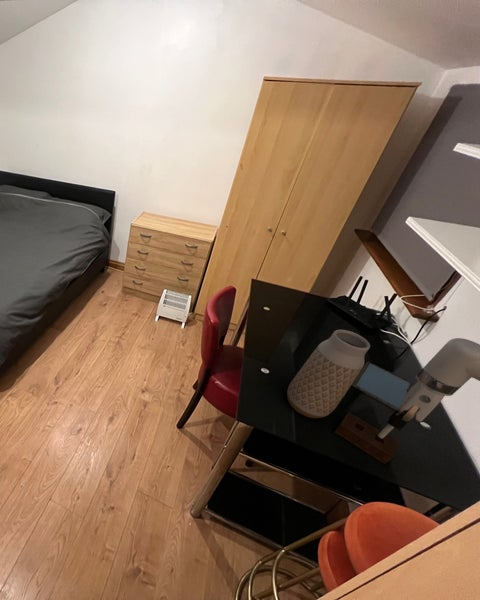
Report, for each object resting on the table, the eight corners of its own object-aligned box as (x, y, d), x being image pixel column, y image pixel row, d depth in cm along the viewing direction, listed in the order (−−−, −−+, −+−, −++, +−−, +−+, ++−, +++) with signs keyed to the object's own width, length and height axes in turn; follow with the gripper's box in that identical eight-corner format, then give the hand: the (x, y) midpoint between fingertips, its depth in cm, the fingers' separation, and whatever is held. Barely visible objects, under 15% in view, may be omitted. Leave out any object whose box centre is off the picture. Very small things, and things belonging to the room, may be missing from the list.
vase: (336, 420, 108) (392, 352, 91) (303, 426, 105) (355, 357, 88) (304, 388, 119) (349, 322, 102) (273, 393, 116) (314, 326, 99)
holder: (391, 449, 100) (399, 441, 98) (385, 464, 95) (393, 457, 93) (342, 419, 108) (348, 411, 106) (334, 432, 104) (341, 424, 101)
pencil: (381, 438, 98) (409, 411, 91) (380, 441, 97) (408, 414, 90) (376, 435, 99) (403, 408, 92) (375, 437, 98) (402, 410, 91)
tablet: (366, 362, 134) (367, 361, 134) (412, 385, 125) (413, 383, 124) (351, 386, 122) (352, 384, 121) (400, 413, 112) (402, 411, 112)
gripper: (453, 404, 77) (404, 448, 87) (460, 376, 86) (415, 419, 96) (413, 385, 82) (371, 428, 92) (424, 360, 91) (384, 402, 101)
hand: (394, 423), depth 94 cm, fingers closed on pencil, 1 cm apart
